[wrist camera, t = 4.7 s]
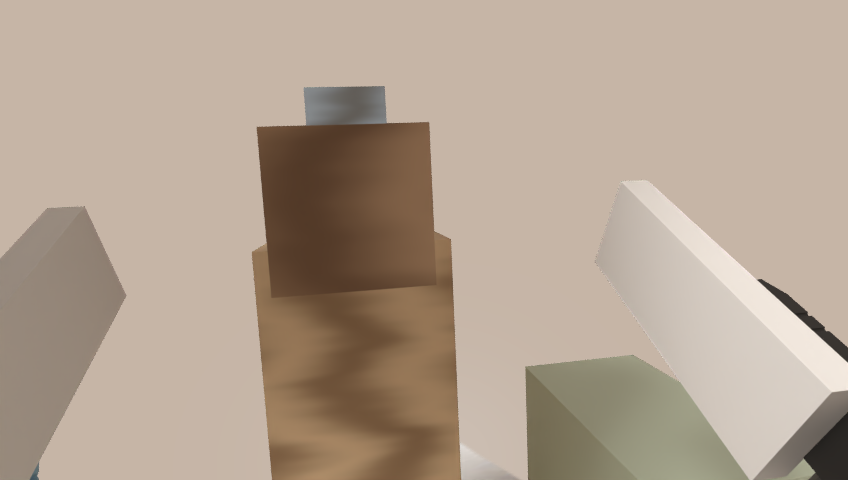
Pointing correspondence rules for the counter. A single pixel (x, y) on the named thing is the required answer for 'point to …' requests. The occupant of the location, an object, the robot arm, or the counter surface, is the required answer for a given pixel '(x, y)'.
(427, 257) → the beam
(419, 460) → the oak stand
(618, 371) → the sage green upright block
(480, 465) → the counter surface
